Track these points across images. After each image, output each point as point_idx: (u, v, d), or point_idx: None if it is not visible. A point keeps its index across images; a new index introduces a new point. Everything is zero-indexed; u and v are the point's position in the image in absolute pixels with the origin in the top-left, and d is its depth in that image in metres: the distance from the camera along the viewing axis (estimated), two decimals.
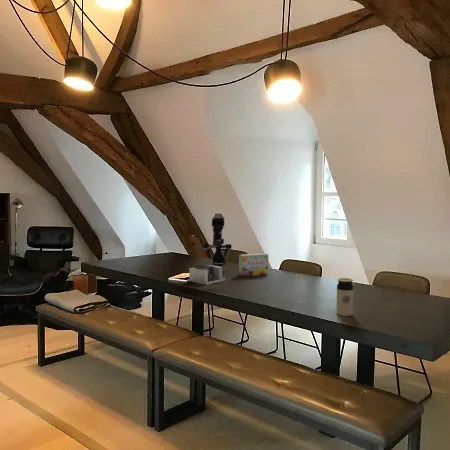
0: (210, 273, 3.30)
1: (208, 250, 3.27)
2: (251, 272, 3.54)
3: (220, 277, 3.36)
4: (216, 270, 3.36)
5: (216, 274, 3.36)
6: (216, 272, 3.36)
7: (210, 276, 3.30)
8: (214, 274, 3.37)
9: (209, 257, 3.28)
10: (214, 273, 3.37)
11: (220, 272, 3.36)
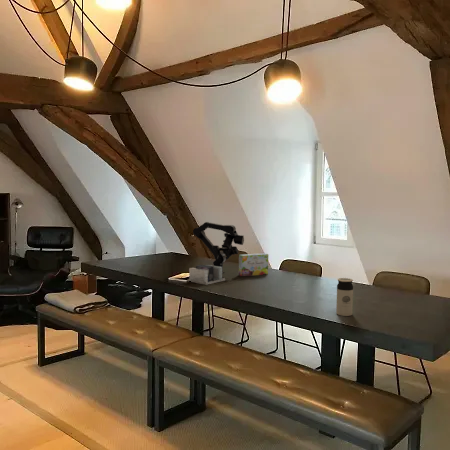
0: (210, 273, 3.30)
1: None
2: (251, 272, 3.54)
3: (220, 277, 3.36)
4: (216, 270, 3.36)
5: (216, 274, 3.36)
6: (216, 272, 3.36)
7: (210, 276, 3.30)
8: (214, 274, 3.37)
9: (227, 258, 3.48)
10: (214, 273, 3.37)
11: (220, 272, 3.36)
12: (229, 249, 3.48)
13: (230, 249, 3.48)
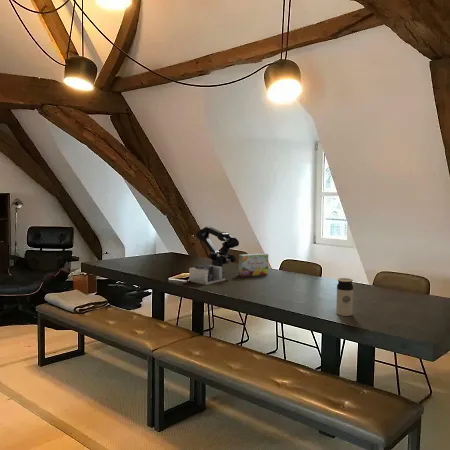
0: (210, 273, 3.30)
1: None
2: (251, 272, 3.54)
3: (220, 277, 3.36)
4: (216, 270, 3.36)
5: (216, 274, 3.36)
6: (216, 272, 3.36)
7: (210, 276, 3.30)
8: (214, 274, 3.37)
9: (220, 266, 3.46)
10: (214, 273, 3.37)
11: (220, 272, 3.36)
12: (222, 257, 3.46)
13: (223, 257, 3.46)
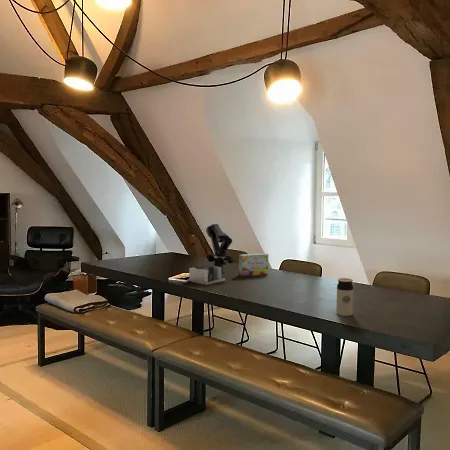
0: (210, 273, 3.30)
1: None
2: (251, 272, 3.54)
3: (219, 277, 3.36)
4: (215, 270, 3.35)
5: (215, 274, 3.36)
6: (215, 273, 3.35)
7: (210, 276, 3.30)
8: (213, 274, 3.37)
9: None
10: (213, 273, 3.37)
11: (219, 272, 3.35)
12: (219, 258, 3.41)
13: (220, 258, 3.41)
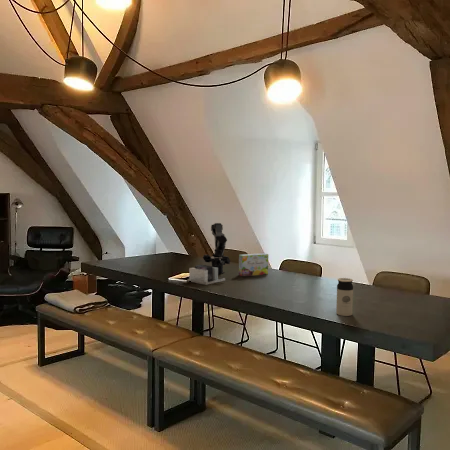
0: (208, 273, 3.29)
1: None
2: (251, 272, 3.54)
3: (216, 278, 3.33)
4: (212, 271, 3.33)
5: (212, 275, 3.33)
6: (212, 273, 3.33)
7: (208, 276, 3.30)
8: None
9: None
10: None
11: (216, 273, 3.33)
12: (216, 259, 3.38)
13: (217, 259, 3.38)
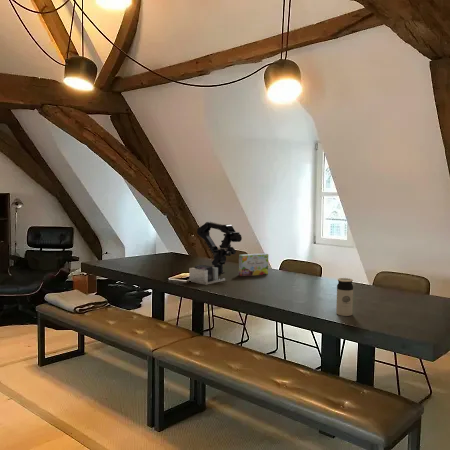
0: (208, 273, 3.29)
1: None
2: (251, 272, 3.54)
3: (216, 278, 3.33)
4: (212, 271, 3.33)
5: (212, 275, 3.33)
6: (212, 273, 3.33)
7: (208, 276, 3.30)
8: None
9: (220, 259, 3.48)
10: None
11: (216, 273, 3.33)
12: (221, 250, 3.47)
13: (222, 250, 3.47)
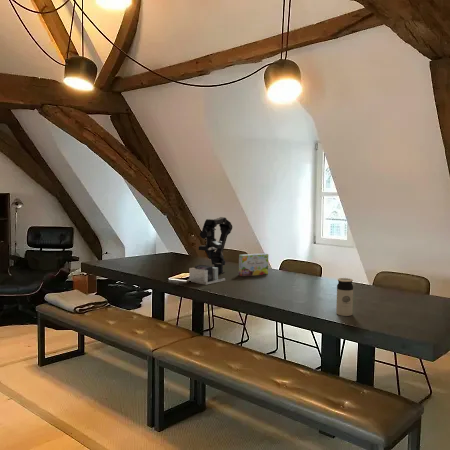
0: (208, 273, 3.29)
1: (211, 251, 3.49)
2: (251, 272, 3.54)
3: (216, 278, 3.33)
4: (212, 271, 3.33)
5: (212, 275, 3.33)
6: (212, 273, 3.33)
7: (208, 276, 3.30)
8: None
9: (210, 257, 3.51)
10: None
11: (216, 273, 3.33)
12: (206, 249, 3.52)
13: (205, 249, 3.52)
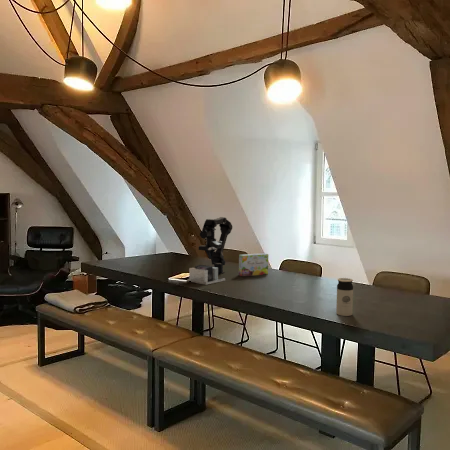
0: (208, 273, 3.29)
1: (211, 251, 3.49)
2: (251, 272, 3.54)
3: (216, 278, 3.33)
4: (212, 271, 3.33)
5: (212, 275, 3.33)
6: (212, 273, 3.33)
7: (208, 276, 3.30)
8: None
9: (210, 257, 3.51)
10: None
11: (216, 273, 3.33)
12: (205, 249, 3.52)
13: (205, 249, 3.52)
